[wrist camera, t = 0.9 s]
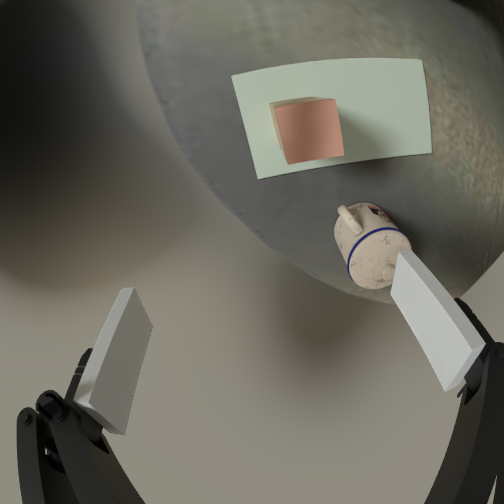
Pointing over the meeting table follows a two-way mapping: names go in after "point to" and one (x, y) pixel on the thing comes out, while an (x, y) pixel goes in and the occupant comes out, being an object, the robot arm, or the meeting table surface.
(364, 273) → the teacup with lid
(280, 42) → the meeting table surface
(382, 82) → the rubber mat
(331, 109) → the oak block
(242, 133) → the meeting table surface
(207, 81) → the meeting table surface
